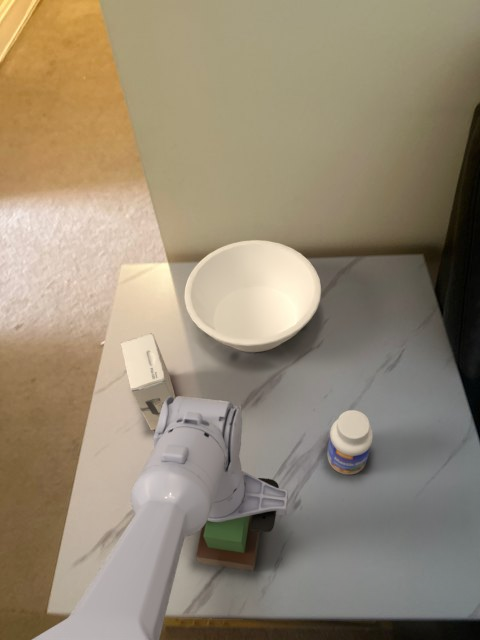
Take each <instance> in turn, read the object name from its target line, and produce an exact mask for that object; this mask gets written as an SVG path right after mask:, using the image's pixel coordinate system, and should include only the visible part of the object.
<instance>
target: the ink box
mask: <svg viewBox="0 0 480 640" xmlns="http://www.w3.org/2000/svg"><path fill="white" fill-rule="evenodd" d="M120 347H121V351H122V356H123V360H124V365H125V369H126V374H127V379H128V383H129V388H130V391H131V394H132V396H133V397H134V400H135V401H136V403H137V405H138V407H139V409H140V411H141V414H142V415H143V417H144V419H145V421H146V423H147V425H148V427H149V429H150V431H155V430H156V428H157V425H158V421H159V416H160V412H161V409H162V406H163V403H164V401H165V400H166V399H167V398H168V397H169V396H172V397H173V398H174V399H175V398H176V397H177V396H176V394H175V390H174V386H173V383H172V379H171V376H170V373H169V370H168V368H167V365H166V363H165V360H164V357H163V354H162V353H161V350H160V348H159V345H158V343H157V340H156V337H155V335H154V334H153V333H152V332H149V333H147V334H143V335H140V336H137V337H134V338H130V339H127V340H124V341H122V342H120Z"/></svg>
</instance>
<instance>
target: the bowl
mask: <svg viewBox="0 0 480 640" xmlns="http://www.w3.org/2000/svg"><path fill="white" fill-rule="evenodd" d="M321 296H322V285H321V280H320V277H319V275H318V272H317V269H316V268H315V267H314V266H313V264H312V263H311V262H310V260H309V259H308V258H306V257H305V256H304V255H303V254H302V253H301V252H299V251H297V250H296V249H294V248H292V247H290V246H287V245H285V244H282V243H279V242H275V241H270V240H258V239H254V240H253V239H252V240H242V241H237V242H233V243H229V244H227V245H224V246H222V247H218V248H217V249H216V250H214V251H213V250H212V251H211V252H210V253H208V254H207V255H206V256H205V257H203V258H202V259H201V260H200V261H199V262H198V263H197V264H196V265H195V267H194V268H193V269H192V271H191V273H190V274H189V276H188V278H187V281H186V284H185V287H184V304H185V307H186V311H187V313H188V315H189V316H190V319H191V320H192V321H193V323H195V325H196V326H197V327H198V328H199V329H200V330H201V331H202V332H204V333H205V334H206V335H208V336H209V337H211V338H212V339H214V340H215V341H216V342H219V343H220V344H223V345H225V346H227V347H230V348H233V349H235V350H238V351H241V352H245V353H246V352H247V353H260V352H265V351H270V350H272V349H274V348H277V347H278V346H280V345H282V344H283V343H285V342H287V341H289V340H290V339H292V338H293V337H295V336H296V335H297V334H298V333H299V332H300V331H301V330H302V329H303V328H304V327H305V326H306V325H307V324H308V323H309V322H310V321H311V320H312V318H313V316H314V315H315V313H316V312H317V310H318V307H319V304H320V302H321Z"/></svg>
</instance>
